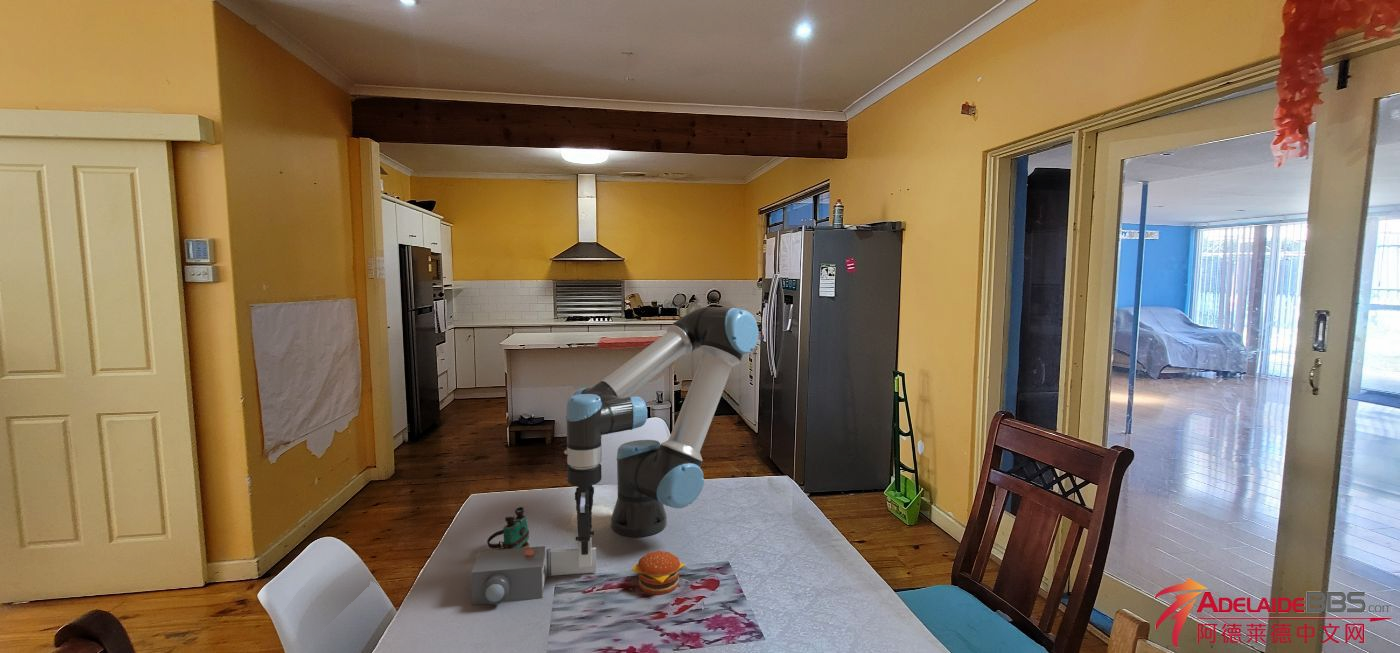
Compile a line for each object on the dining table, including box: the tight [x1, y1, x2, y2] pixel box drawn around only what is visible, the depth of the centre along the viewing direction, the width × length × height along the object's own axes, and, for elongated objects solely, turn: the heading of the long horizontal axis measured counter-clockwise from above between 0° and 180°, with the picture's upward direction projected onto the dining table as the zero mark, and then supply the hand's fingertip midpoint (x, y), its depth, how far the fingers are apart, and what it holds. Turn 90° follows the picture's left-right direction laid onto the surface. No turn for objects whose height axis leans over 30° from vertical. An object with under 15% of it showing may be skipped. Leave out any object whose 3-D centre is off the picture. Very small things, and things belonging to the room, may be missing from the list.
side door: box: [545, 547, 597, 577], centre depth 128 cm, size 1×11×6 cm, turn 99°
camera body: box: [470, 545, 547, 605], centre depth 120 cm, size 14×12×8 cm
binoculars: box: [486, 506, 531, 550], centre depth 137 cm, size 9×11×10 cm
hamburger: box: [631, 550, 687, 595], centre depth 124 cm, size 9×10×7 cm
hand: (585, 565), depth 127 cm, fingers closed
